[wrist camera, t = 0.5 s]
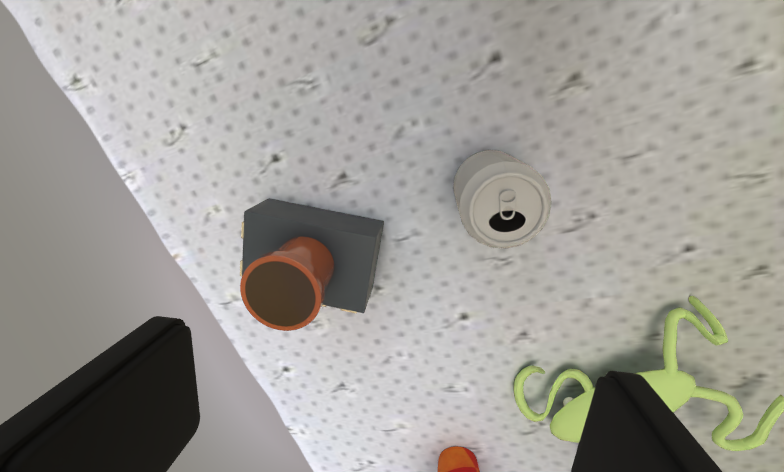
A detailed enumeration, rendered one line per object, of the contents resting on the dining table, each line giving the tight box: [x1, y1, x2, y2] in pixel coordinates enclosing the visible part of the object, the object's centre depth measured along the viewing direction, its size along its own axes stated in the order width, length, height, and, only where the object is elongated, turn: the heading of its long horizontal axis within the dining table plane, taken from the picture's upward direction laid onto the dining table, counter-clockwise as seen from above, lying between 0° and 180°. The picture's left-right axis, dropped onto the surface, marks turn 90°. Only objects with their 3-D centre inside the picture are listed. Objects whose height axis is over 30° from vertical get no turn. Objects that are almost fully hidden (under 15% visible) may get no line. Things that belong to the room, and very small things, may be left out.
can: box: [453, 150, 551, 248], centre depth 35 cm, size 8×8×12 cm
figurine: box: [514, 296, 784, 451], centre depth 44 cm, size 18×27×6 cm
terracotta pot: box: [240, 237, 334, 331], centre depth 36 cm, size 7×7×7 cm
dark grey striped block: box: [240, 199, 384, 313], centre depth 42 cm, size 9×14×6 cm, turn 80°
